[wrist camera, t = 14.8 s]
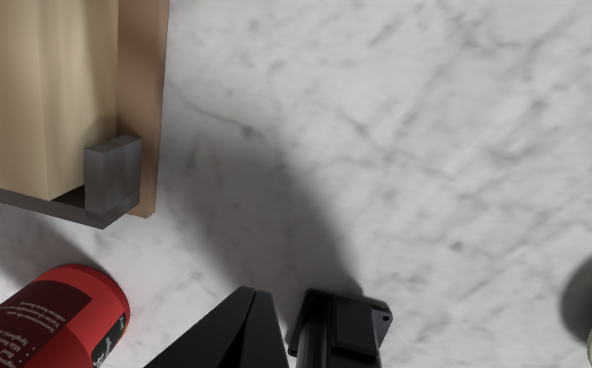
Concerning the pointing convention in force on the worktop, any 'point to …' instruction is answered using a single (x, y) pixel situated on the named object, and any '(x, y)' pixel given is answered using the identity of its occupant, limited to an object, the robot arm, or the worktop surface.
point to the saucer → (589, 347)
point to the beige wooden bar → (55, 90)
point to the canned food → (63, 320)
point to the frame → (121, 130)
